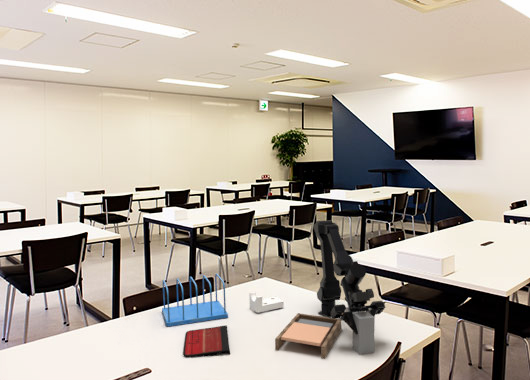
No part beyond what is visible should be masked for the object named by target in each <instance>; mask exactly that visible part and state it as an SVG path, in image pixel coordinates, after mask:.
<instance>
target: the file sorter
mask: <svg viewBox="0 0 530 380" xmlns="http://www.w3.org/2000/svg"><path fill="white" fill-rule="evenodd" d="M217 277H218V279H220V281H221V282H222V287H223V289H222V290H223V305H222V304H221V302H220V301H219V300H218V291H217V289H218V288H217V287H218V285H217V283H218V281H217ZM175 279H176V280H175V281H176V282H175V283H176V285H175V286H176V306H170V300H169V298H170V297H169V296H170V295H169V288H168V285H167V283H166V280H165V279H163V280H162V297H163V298H162V299H163V308H162V309H161V313H162V312H163V313H162V316H163V319H164V322H165V325H166V327H167V326H168V327H174V326H179V325H186V324H192V323H199V322H200V323H201V322H206V321H211V320H212V321H213V320H220V319H225V318H226V319H227V318H229V313H228V312H227V311H226V310H227V309H226V308H227V306H226V286H225V285H226V284H225V281H224V280H223V278H222V277H221V276H220V275H219V274H218V273H215V275H214V285H215V286H214V287H215V289H214V290H215V300H213V297H212V295H213V294H212V284H211V281H210V280H209V279H208V277H207V276H206V275H205V274H203V275H202V302H199V300H198V299H199V297H198V293H199V291H198V285H197V283H196V281H195V279H193V277H192V276H189V296H190V297H189V301H190V304H185V299H184V298H185V297H184V287H183V285H182V283H181V281H180V280H179V278H175ZM205 281H206V282H207V283H208V285H209V295H210V296H209V297H210V301H206V300H205ZM192 283H193V285H194V286H195V298H196V299H195V300H196V301H195V302H196V303H193V301H192V299H193V298H192ZM179 286H180V288H181V299H182V300H181V302H182V303H181V304H182V305H180V304H179V303H180V302H179ZM165 289H166V296H167V297H165ZM166 300H167V301H166ZM166 302H167V307H166Z"/></svg>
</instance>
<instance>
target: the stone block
mask: <svg viewBox="0 0 530 380" xmlns="http://www.w3.org/2000/svg"><path fill="white" fill-rule="evenodd" d="M375 317H376V316H375ZM375 317H374V316H372V315H371V314H370V313H369V312H368V311H365V312H355V313H353V319H354V322H355V325H356V327H357V331H358V334H357V335H356V334H355V333H354V331H353V330H352V348H353V350H354V351H355V352H356V353H357V354H358V355H359V356H360V355H364V354H366V355H367V354H373V353H375Z"/></svg>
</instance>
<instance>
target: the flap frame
mask: <svg viewBox="0 0 530 380" xmlns="http://www.w3.org/2000/svg"><path fill="white" fill-rule="evenodd" d="M300 319H306V320H312V321H319V322H326V323H333V328H332V330H331V332H330V333H329V335H328V336H327V337H326V338H325V340H324V341H323V343H322V344H321V346H320V351H321V352H320V357H321V359H326V357H327V355H328V353H329V352H330V350H331V349H332V347H333V345H334V343H335V341H336V340H337V338H338V336H339V334H340V333H341V331H342V320H340V318H337V319H332V317H329V316H319V315H314V314H313V315H311V314H306V313H305V314H304V313H300V312H298V313H296V315H294V317H293V318H292V319H291V320H290V321H289V322H288V323H287V325H286V326H285V327H284V328H283V329H282V331H281V332H280V333H279V334H278V335H277V336H276V337H275V340H274V342H275V343H274V345H275V346H274V349H275V351H280V350H281V348H282V347H283V345H284V344H285V343H286V342H287V341H286V340H281V337H282V335H283V334H284V333H285V332H286V331H287V330H288V328H289V327H290V326H291V325H292V324H293V323H294V322H298V321H299V320H300Z"/></svg>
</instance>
